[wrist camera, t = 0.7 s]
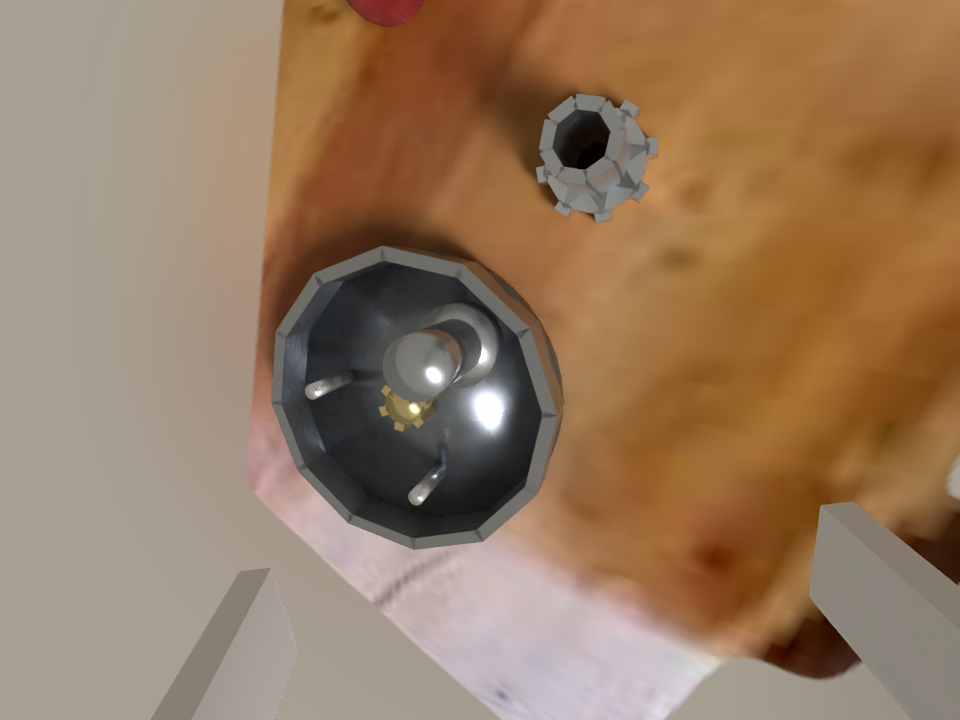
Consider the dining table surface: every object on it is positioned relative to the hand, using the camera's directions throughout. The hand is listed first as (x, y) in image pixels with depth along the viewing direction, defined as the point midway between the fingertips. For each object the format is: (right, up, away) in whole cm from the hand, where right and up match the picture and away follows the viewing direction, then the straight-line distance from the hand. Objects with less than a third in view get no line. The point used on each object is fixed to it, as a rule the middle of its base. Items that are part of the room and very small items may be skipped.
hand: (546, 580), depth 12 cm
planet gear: (+6, +19, +22) cm, 29 cm away
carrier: (-6, +3, +30) cm, 31 cm away
